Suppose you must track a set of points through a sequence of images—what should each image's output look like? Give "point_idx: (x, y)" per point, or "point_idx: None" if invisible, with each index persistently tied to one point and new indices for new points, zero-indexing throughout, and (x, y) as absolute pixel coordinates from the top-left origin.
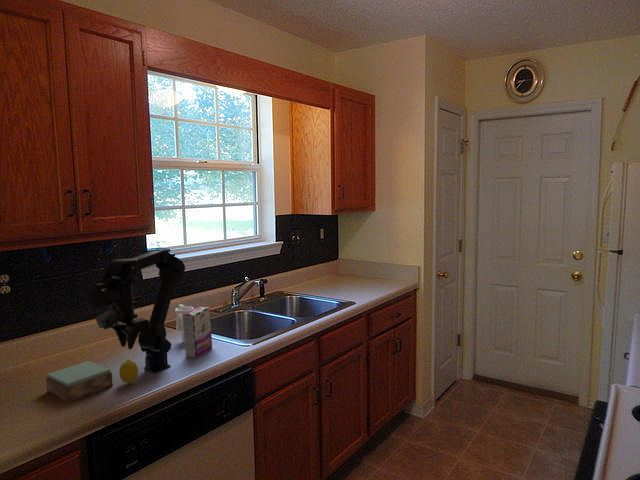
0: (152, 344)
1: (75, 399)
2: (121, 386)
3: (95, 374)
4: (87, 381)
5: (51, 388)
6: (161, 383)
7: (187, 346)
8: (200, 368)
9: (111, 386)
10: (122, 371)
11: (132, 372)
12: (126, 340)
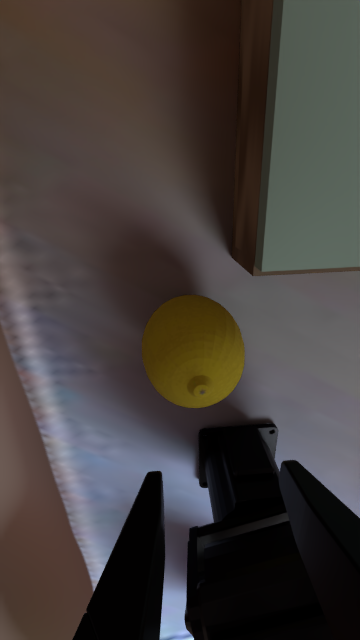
0: (211, 578)
1: (242, 5)
2: (191, 281)
3: (271, 150)
4: (265, 77)
5: None
6: (79, 398)
7: None
8: (100, 525)
9: (232, 251)
10: (179, 313)
11: (142, 349)
12: (302, 556)
